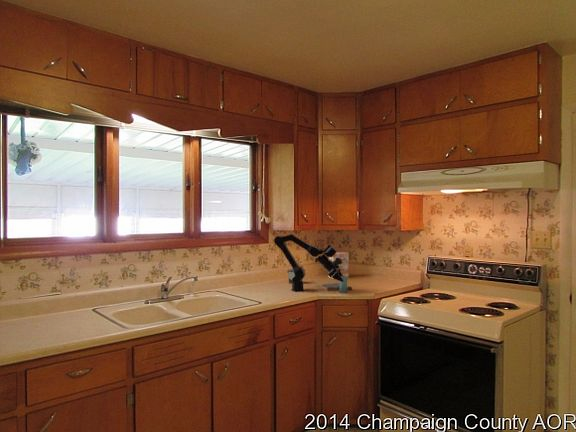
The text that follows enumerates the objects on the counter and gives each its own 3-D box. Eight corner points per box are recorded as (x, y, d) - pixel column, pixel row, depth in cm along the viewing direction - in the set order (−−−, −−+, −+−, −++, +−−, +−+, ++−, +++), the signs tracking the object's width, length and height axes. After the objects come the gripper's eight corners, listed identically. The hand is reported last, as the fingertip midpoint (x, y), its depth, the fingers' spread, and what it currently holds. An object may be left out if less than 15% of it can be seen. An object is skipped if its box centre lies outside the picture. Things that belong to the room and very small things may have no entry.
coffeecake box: (333, 279, 304) (333, 253, 304) (328, 277, 310) (328, 252, 310) (349, 277, 311) (349, 252, 311) (343, 276, 318) (343, 251, 317)
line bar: (327, 290, 259) (327, 287, 259) (327, 289, 262) (327, 286, 262) (351, 290, 261) (351, 287, 261) (350, 289, 264) (350, 286, 263)
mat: (331, 288, 266) (331, 287, 266) (322, 285, 276) (322, 284, 276) (346, 287, 271) (346, 285, 271) (336, 284, 282) (336, 282, 282)
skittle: (342, 293, 251) (342, 277, 251) (337, 292, 255) (337, 276, 255) (348, 292, 253) (348, 277, 253) (344, 291, 258) (344, 275, 258)
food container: (304, 282, 290) (304, 268, 290) (304, 284, 284) (304, 270, 283) (287, 282, 291) (287, 268, 291) (286, 283, 285) (286, 269, 285)
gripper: (333, 255, 246) (351, 273, 244) (336, 252, 264) (353, 269, 262) (320, 268, 248) (338, 286, 246) (324, 264, 266) (341, 281, 264)
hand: (343, 280), depth 254 cm, fingers open, 9 cm apart
